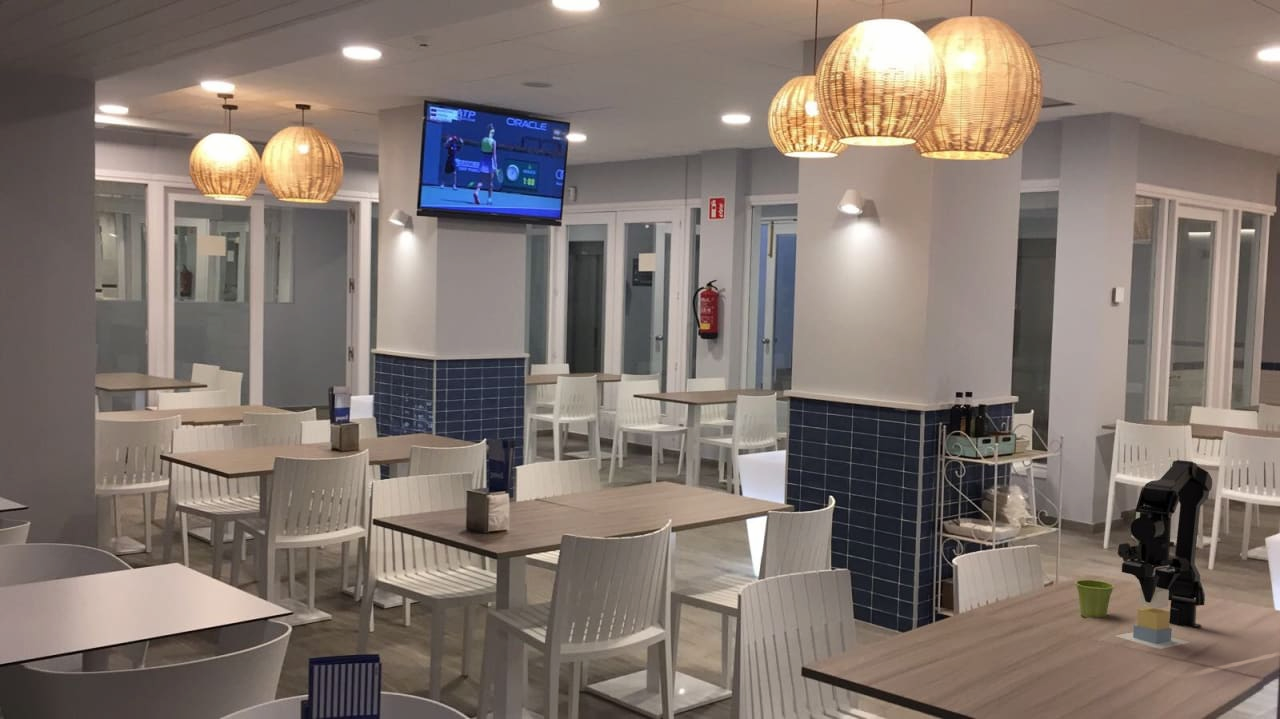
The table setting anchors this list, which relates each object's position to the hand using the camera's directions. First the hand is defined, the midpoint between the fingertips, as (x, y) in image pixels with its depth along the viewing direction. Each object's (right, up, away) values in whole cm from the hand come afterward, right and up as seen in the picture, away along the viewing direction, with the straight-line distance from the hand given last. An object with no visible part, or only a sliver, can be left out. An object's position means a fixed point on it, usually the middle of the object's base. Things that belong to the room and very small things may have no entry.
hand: (1153, 601), depth 273 cm
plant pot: (-5, -9, +23) cm, 26 cm away
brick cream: (0, -1, 0) cm, 1 cm away
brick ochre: (0, -6, 0) cm, 6 cm away
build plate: (0, -10, 0) cm, 10 cm away
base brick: (0, -9, 0) cm, 9 cm away
